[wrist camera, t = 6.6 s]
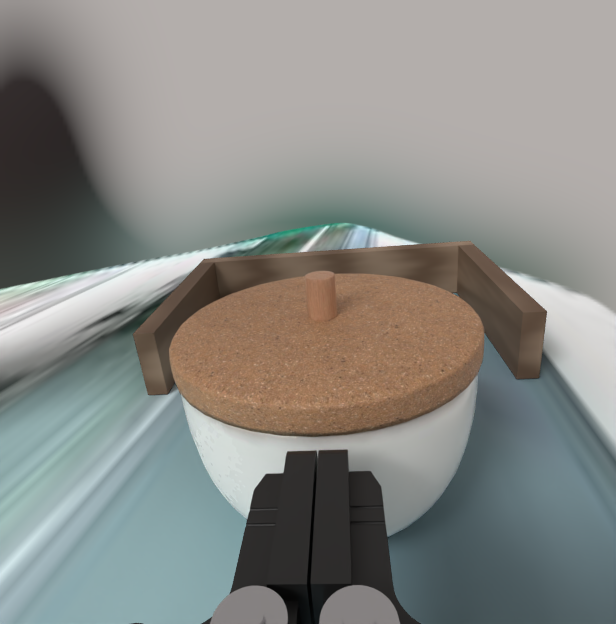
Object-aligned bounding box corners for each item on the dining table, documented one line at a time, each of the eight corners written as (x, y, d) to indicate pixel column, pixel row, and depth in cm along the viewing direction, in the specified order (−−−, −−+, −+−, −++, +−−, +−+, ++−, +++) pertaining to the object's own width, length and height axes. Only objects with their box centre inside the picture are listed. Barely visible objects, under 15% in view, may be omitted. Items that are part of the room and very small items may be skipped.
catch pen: (148, 394, 28) (132, 334, 26) (211, 302, 42) (204, 259, 40) (539, 377, 26) (546, 311, 24) (467, 286, 40) (469, 240, 38)
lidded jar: (369, 697, 12) (352, 394, 9) (153, 510, 19) (95, 297, 16) (516, 470, 20) (538, 252, 16) (321, 392, 26) (306, 228, 23)
